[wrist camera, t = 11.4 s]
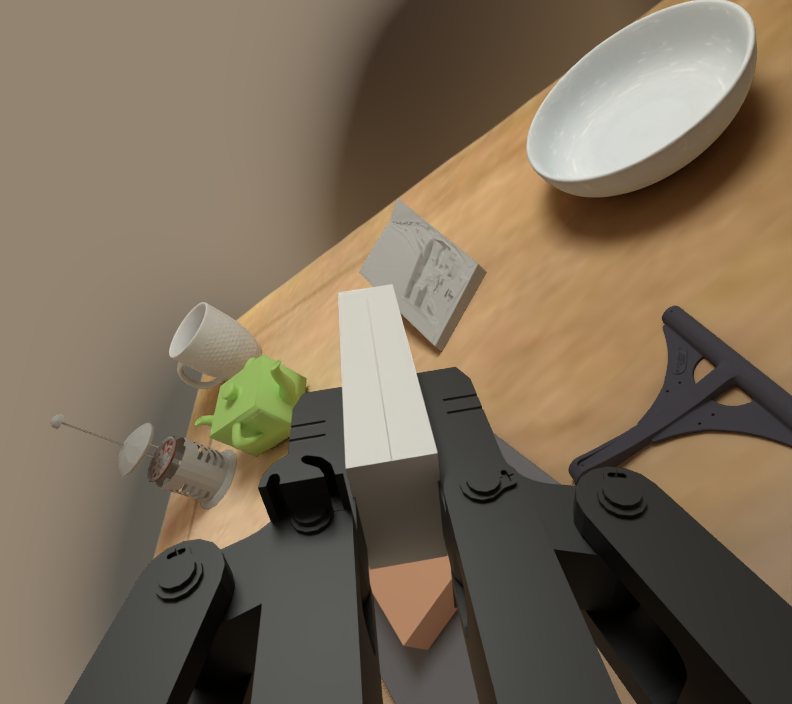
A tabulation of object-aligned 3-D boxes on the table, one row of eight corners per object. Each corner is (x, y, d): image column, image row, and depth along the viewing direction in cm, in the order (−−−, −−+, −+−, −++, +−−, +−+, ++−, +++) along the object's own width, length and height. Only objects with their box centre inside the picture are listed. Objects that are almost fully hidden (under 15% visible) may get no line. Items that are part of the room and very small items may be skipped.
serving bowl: (530, 234, 57) (498, 195, 53) (587, 96, 62) (562, 51, 58) (741, 208, 41) (718, 150, 37) (796, 25, 46) (780, -44, 42)
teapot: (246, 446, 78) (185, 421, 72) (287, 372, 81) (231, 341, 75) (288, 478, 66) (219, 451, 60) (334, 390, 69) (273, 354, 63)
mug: (222, 416, 90) (153, 386, 82) (219, 381, 98) (157, 351, 90) (273, 358, 87) (207, 321, 79) (266, 327, 95) (205, 291, 88)
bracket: (540, 421, 45) (524, 409, 43) (682, 312, 41) (671, 294, 39) (637, 570, 34) (621, 561, 33) (845, 443, 30) (840, 425, 28)
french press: (214, 517, 74) (33, 462, 60) (189, 497, 83) (25, 444, 69) (244, 455, 77) (78, 388, 62) (216, 442, 86) (65, 381, 71)
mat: (427, 383, 56) (422, 379, 56) (619, 528, 36) (613, 524, 35) (316, 539, 57) (309, 537, 56) (440, 774, 36) (432, 775, 35)
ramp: (504, 314, 54) (477, 287, 51) (397, 385, 61) (366, 365, 58) (456, 188, 73) (433, 163, 70) (378, 252, 80) (355, 232, 77)
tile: (516, 529, 40) (415, 433, 53) (494, 518, 38) (395, 421, 51) (429, 650, 40) (350, 524, 53) (403, 645, 38) (327, 516, 51)
